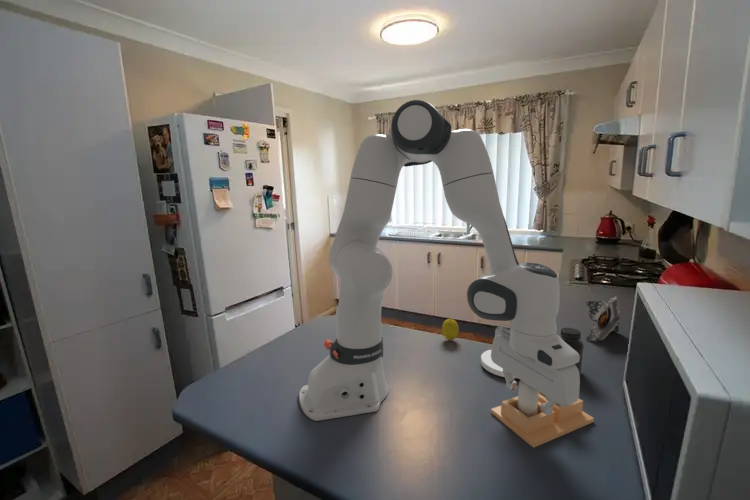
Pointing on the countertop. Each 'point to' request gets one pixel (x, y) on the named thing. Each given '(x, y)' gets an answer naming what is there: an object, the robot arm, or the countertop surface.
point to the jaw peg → (527, 399)
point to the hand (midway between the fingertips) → (527, 400)
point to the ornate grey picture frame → (603, 318)
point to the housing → (542, 420)
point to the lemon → (450, 329)
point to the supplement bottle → (574, 343)
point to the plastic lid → (491, 364)
